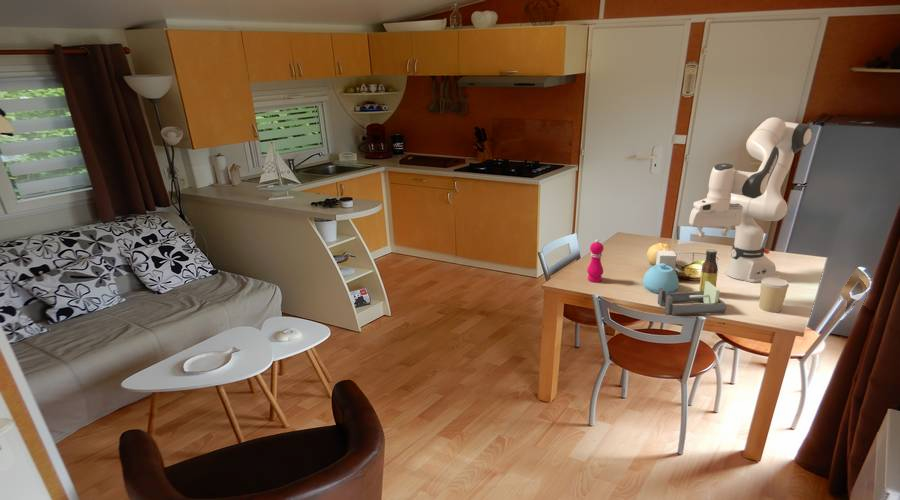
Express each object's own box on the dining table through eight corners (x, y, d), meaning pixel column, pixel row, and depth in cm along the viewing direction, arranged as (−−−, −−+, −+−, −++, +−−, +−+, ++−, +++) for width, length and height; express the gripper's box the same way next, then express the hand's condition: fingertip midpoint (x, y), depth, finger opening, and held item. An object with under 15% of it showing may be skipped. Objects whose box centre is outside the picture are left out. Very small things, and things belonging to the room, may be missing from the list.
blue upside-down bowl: (675, 297, 221) (679, 272, 217) (639, 291, 228) (641, 267, 224) (680, 284, 234) (683, 260, 230) (645, 279, 241) (647, 256, 237)
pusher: (705, 300, 216) (708, 281, 213) (716, 310, 208) (719, 290, 205) (683, 301, 216) (686, 282, 213) (693, 311, 208) (696, 291, 205)
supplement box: (674, 281, 237) (677, 256, 232) (656, 281, 238) (659, 255, 234) (670, 275, 243) (673, 250, 239) (654, 274, 245) (657, 249, 241)
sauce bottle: (717, 295, 221) (724, 252, 215) (705, 297, 220) (711, 254, 213) (707, 289, 227) (713, 247, 221) (695, 291, 226) (701, 249, 219)
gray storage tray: (708, 299, 218) (711, 284, 216) (724, 312, 207) (726, 297, 204) (656, 301, 218) (658, 286, 216) (668, 315, 206) (670, 299, 204)
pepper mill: (589, 275, 247) (591, 236, 240) (604, 278, 243) (607, 238, 236) (584, 281, 241) (587, 240, 234) (600, 283, 237) (603, 243, 230)
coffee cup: (771, 302, 214) (777, 275, 210) (789, 312, 205) (794, 284, 201) (751, 304, 213) (756, 277, 208) (767, 314, 204) (773, 287, 200)
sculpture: (674, 268, 251) (677, 247, 248) (649, 268, 253) (651, 247, 249) (668, 259, 262) (670, 239, 258) (643, 259, 264) (645, 239, 260)
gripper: (739, 201, 214) (734, 233, 218) (689, 202, 214) (685, 234, 219) (747, 205, 208) (741, 237, 212) (696, 206, 208) (691, 238, 213)
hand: (712, 236), depth 215 cm, fingers open, 8 cm apart
